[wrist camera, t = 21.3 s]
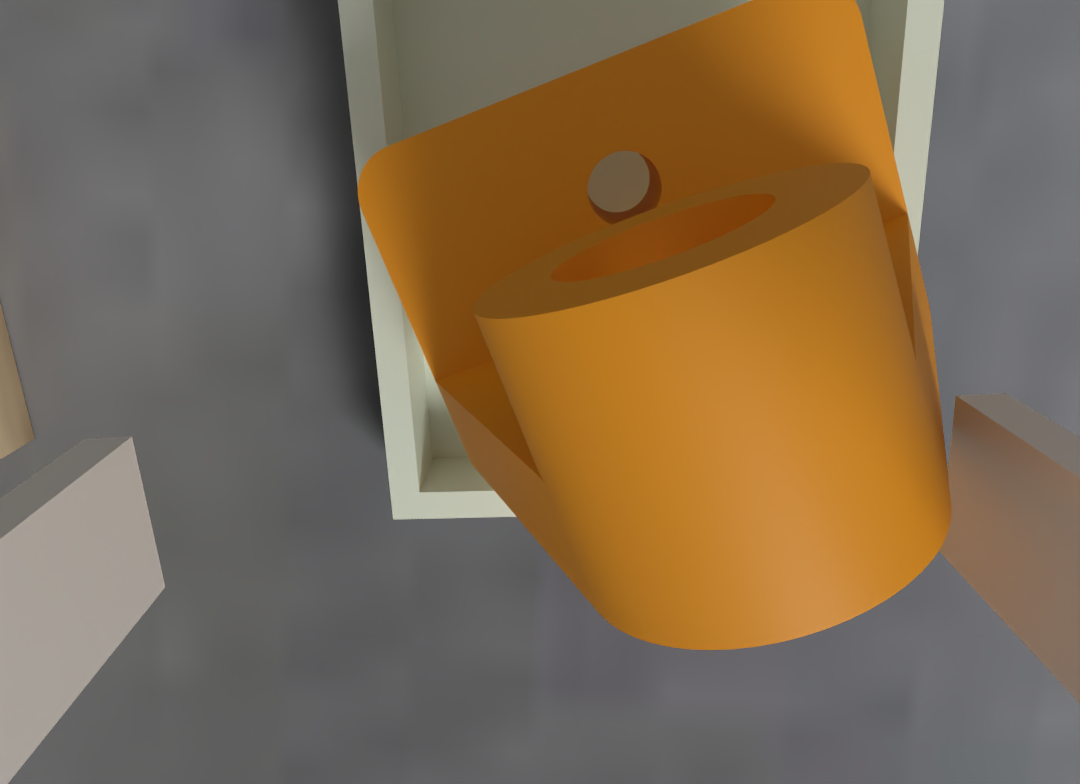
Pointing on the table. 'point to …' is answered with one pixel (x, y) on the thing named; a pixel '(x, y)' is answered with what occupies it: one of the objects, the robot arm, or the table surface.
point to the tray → (614, 185)
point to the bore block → (11, 399)
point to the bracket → (687, 326)
